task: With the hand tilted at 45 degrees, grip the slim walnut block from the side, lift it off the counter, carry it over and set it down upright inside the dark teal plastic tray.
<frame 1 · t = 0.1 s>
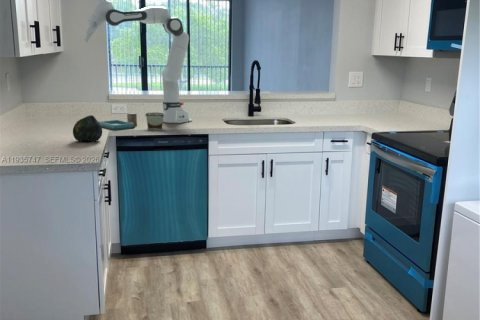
hand: (85, 41, 302), 54 cm above the worktop, tool tilted 30°, fingers open, 8 cm apart
food container: (156, 128, 300), on the worktop
tray: (116, 127, 300), on the worktop
squash: (88, 141, 252), on the worktop
walnut block: (132, 125, 309), on the worktop
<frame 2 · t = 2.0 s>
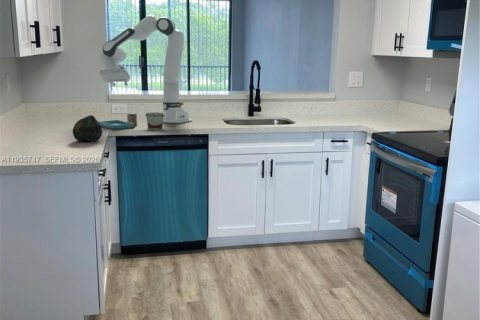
hand: (120, 85, 315), 25 cm above the worktop, tool tilted 45°, fingers open, 8 cm apart
nothing on the worktop moved.
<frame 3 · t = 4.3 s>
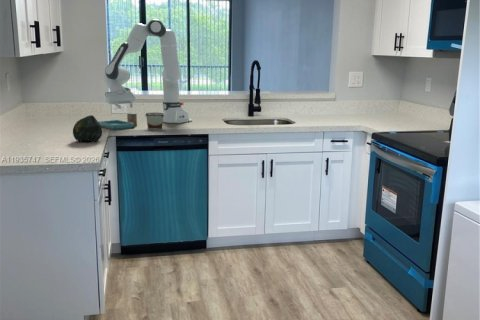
hand: (125, 107, 311), 11 cm above the worktop, tool tilted 45°, fingers open, 8 cm apart
nothing on the worktop moved.
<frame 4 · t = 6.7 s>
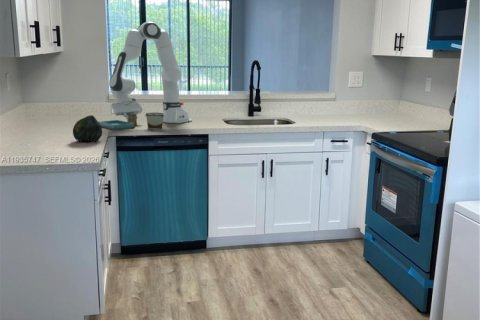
hand: (132, 118, 307), 5 cm above the worktop, tool tilted 45°, fingers closed on walnut block, 4 cm apart
walnut block: (132, 125, 309), on the worktop, touching gripper
everything else where it was.
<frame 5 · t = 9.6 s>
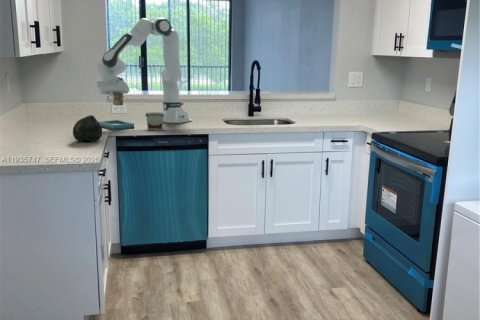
hand: (118, 98, 297), 19 cm above the worktop, tool tilted 45°, fingers closed on walnut block, 4 cm apart
walnut block: (118, 105, 299), point 14 cm above the worktop, touching gripper
everything else where it was.
when the fingers open (7 cm above the worktop, at t = 12.8 s): walnut block drops 1 cm, resting on tray.
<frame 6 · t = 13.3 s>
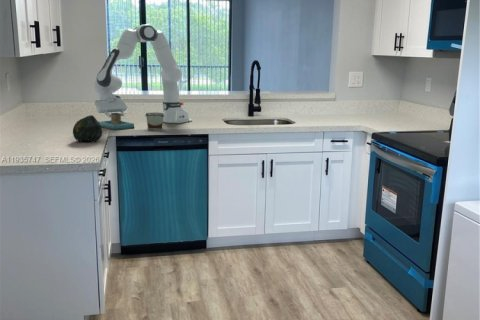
hand: (116, 116, 298), 7 cm above the worktop, tool tilted 45°, fingers open, 8 cm apart
walnut block: (116, 125, 300), point 1 cm above the worktop, touching tray
everything else where it was.
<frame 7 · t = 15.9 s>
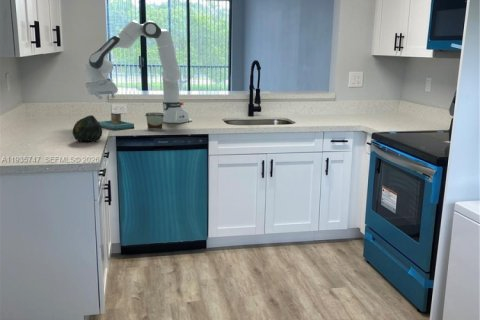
hand: (107, 98, 305), 18 cm above the worktop, tool tilted 45°, fingers open, 8 cm apart
nothing on the worktop moved.
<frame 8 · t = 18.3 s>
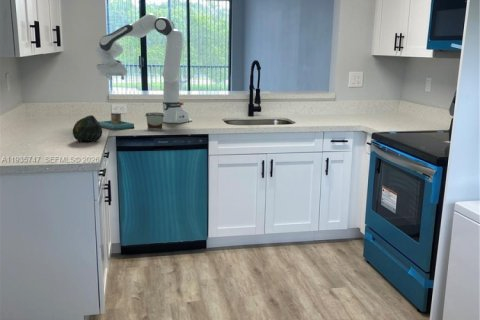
hand: (117, 79, 317), 29 cm above the worktop, tool tilted 45°, fingers open, 8 cm apart
nothing on the worktop moved.
at the end: walnut block inside the target area on the tray (0.1 cm from its centre), point 1.0 cm above the tray's base; walnut block tilted 0°; the gripper is holding nothing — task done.
